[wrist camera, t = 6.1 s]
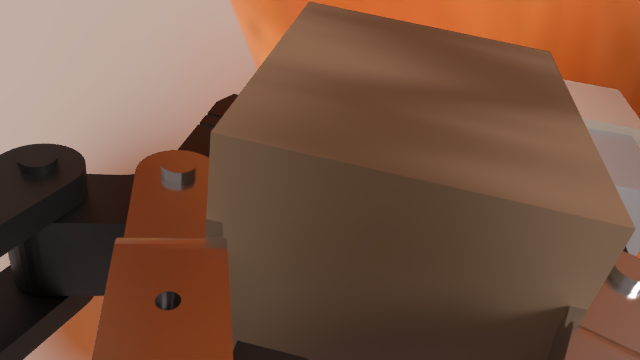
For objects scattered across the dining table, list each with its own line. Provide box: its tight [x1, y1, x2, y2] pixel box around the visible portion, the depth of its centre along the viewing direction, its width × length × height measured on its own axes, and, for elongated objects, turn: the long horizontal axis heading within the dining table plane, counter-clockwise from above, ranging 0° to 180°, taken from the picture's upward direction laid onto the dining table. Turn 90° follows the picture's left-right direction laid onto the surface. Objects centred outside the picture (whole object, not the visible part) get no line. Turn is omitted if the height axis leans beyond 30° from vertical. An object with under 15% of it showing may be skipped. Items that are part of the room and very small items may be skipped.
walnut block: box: [206, 2, 636, 360], centre depth 10 cm, size 5×5×6 cm
